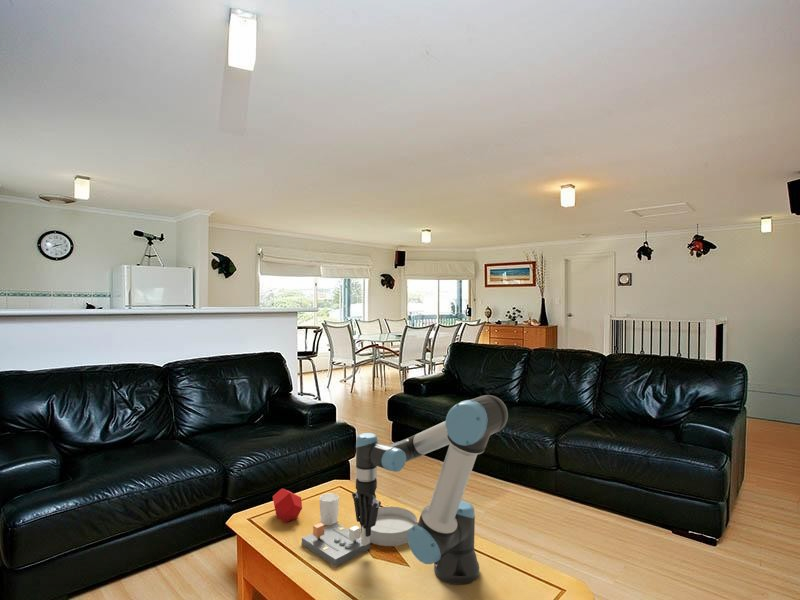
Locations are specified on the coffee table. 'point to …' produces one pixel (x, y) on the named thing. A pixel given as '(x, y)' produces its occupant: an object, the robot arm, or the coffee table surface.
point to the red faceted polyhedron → (287, 505)
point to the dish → (392, 526)
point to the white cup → (329, 508)
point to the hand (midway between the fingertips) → (365, 543)
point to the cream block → (354, 533)
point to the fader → (318, 530)
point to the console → (334, 545)
